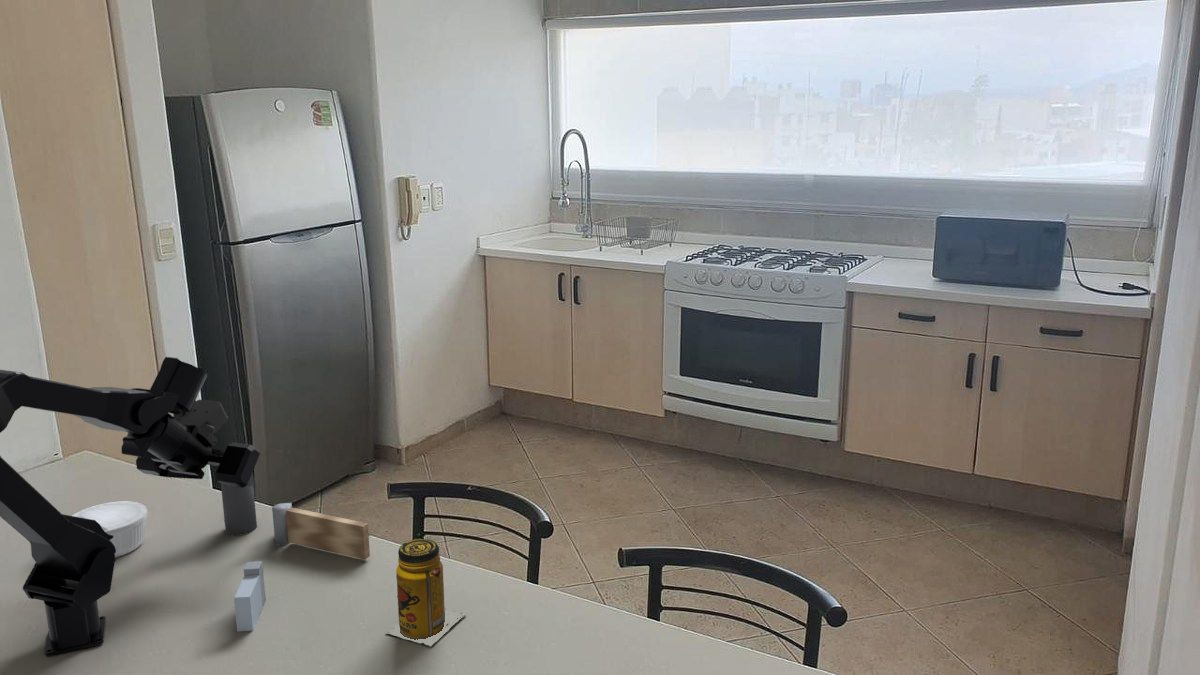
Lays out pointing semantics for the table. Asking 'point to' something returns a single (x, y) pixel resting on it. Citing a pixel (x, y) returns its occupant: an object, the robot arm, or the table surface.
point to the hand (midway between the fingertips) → (227, 479)
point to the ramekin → (120, 523)
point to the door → (328, 533)
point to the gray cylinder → (239, 509)
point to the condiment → (420, 589)
